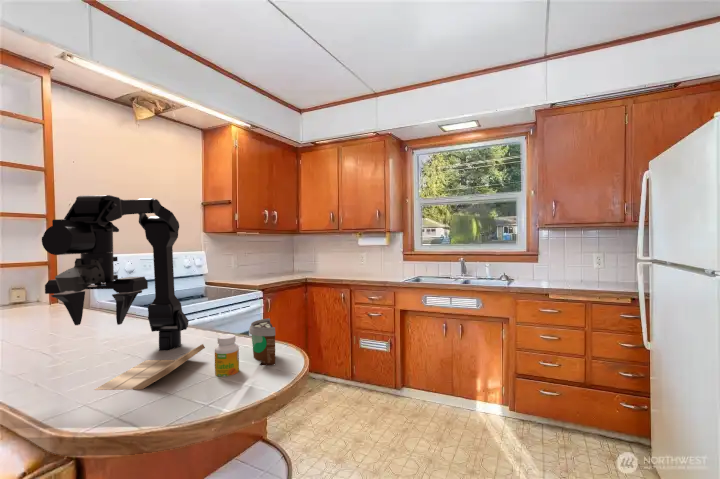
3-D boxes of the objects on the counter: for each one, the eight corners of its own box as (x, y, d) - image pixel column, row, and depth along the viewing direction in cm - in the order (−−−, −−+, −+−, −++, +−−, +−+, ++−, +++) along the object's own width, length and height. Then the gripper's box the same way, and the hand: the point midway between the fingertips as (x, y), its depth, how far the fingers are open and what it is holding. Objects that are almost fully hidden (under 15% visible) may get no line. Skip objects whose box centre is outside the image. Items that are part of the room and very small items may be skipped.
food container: (248, 355, 100) (247, 319, 100) (270, 352, 102) (269, 317, 102) (250, 370, 88) (250, 330, 88) (276, 366, 90) (275, 327, 90)
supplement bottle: (213, 382, 81) (213, 340, 81) (216, 374, 86) (215, 334, 86) (238, 379, 82) (237, 338, 82) (239, 371, 88) (239, 332, 87)
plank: (179, 363, 93) (176, 359, 93) (205, 347, 93) (202, 343, 93) (135, 393, 75) (132, 388, 75) (167, 374, 75) (164, 368, 75)
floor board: (145, 364, 93) (145, 360, 93) (176, 364, 93) (175, 359, 93) (94, 395, 75) (94, 389, 75) (131, 394, 75) (131, 388, 75)
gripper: (18, 255, 69) (20, 335, 69) (113, 254, 69) (115, 334, 69) (66, 253, 80) (67, 321, 80) (148, 251, 80) (149, 320, 80)
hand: (98, 324), depth 77 cm, fingers open, 9 cm apart
